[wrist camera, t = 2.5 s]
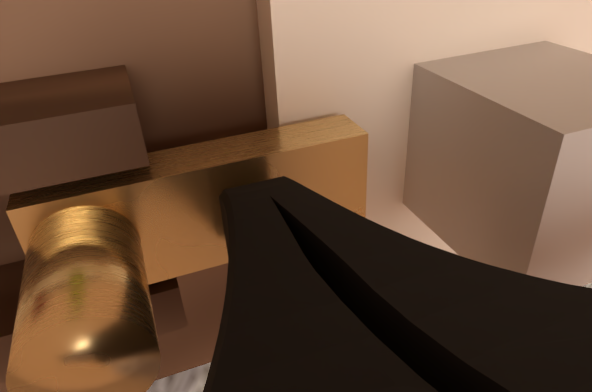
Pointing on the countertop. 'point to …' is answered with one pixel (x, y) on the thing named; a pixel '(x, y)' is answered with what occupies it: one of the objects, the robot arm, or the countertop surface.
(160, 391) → the countertop surface
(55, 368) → the brass bolt
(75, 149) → the box base
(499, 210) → the cover
